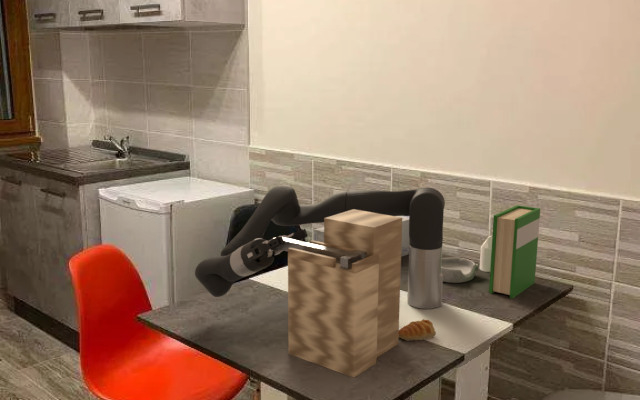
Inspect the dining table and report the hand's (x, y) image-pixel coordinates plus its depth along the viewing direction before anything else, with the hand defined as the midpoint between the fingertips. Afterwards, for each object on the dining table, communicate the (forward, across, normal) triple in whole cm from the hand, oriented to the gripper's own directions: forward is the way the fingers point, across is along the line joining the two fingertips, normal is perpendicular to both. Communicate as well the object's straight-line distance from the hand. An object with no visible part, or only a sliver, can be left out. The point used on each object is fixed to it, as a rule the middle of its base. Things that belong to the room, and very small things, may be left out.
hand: (294, 236), depth 154 cm
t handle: (+4, 0, -6) cm, 7 cm away
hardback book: (+8, -73, -37) cm, 83 cm away
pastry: (+4, -24, -35) cm, 42 cm away
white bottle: (-4, -86, -30) cm, 91 cm away
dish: (-9, -71, -27) cm, 77 cm away
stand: (-4, -6, -30) cm, 31 cm away
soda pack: (-36, -69, -11) cm, 79 cm away
